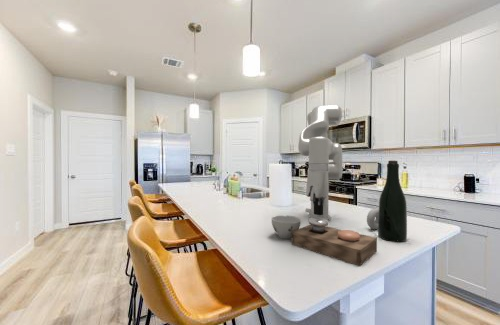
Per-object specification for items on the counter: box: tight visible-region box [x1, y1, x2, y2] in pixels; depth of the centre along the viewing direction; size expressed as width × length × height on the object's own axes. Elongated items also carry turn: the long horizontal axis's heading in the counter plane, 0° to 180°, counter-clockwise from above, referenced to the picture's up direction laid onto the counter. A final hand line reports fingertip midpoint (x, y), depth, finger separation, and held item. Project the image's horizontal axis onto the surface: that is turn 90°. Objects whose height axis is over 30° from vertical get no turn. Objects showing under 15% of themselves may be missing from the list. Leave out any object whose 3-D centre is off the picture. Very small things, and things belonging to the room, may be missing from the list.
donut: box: [366, 207, 379, 230], centre depth 110 cm, size 10×4×10 cm, turn 117°
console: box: [291, 224, 378, 267], centre depth 88 cm, size 26×16×5 cm, turn 45°
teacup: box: [271, 215, 302, 240], centre depth 101 cm, size 15×12×8 cm
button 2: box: [338, 229, 361, 243], centre depth 84 cm, size 7×7×6 cm
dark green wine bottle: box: [377, 160, 408, 243], centre depth 98 cm, size 10×10×33 cm
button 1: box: [308, 217, 329, 235], centre depth 92 cm, size 7×7×6 cm
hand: (318, 214), depth 92 cm, fingers closed
